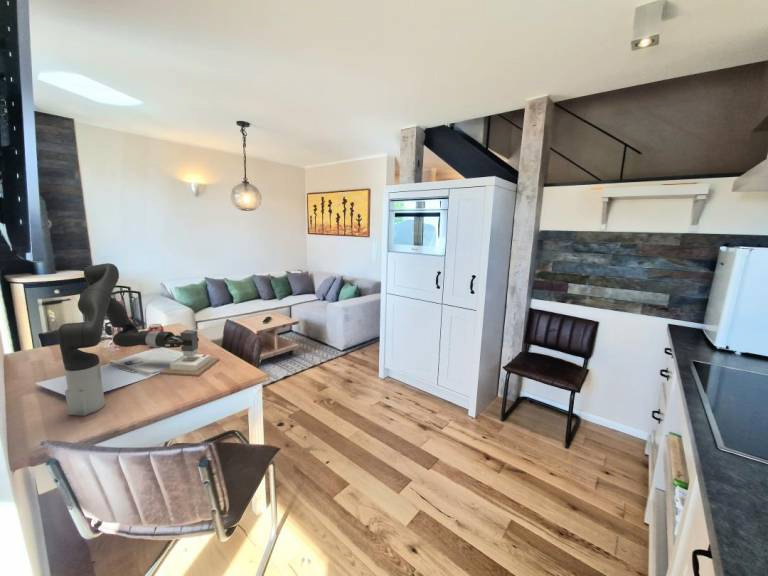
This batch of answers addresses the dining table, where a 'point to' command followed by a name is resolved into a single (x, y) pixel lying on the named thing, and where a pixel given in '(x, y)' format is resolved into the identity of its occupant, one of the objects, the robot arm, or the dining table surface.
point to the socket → (190, 365)
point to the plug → (189, 336)
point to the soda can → (155, 329)
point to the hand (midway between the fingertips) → (195, 341)
